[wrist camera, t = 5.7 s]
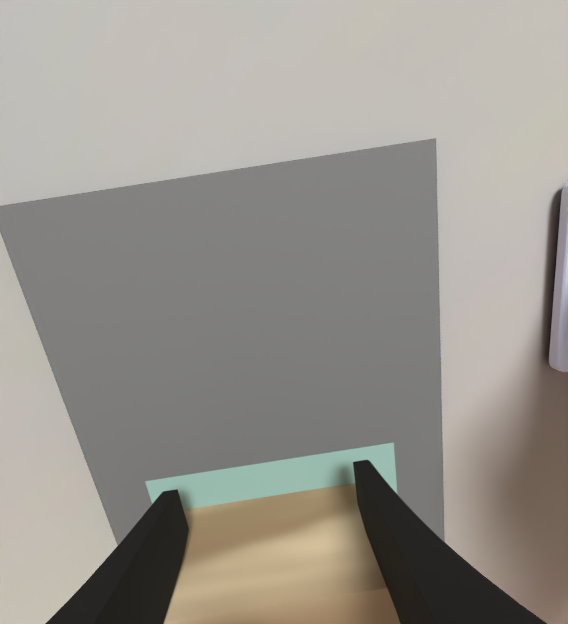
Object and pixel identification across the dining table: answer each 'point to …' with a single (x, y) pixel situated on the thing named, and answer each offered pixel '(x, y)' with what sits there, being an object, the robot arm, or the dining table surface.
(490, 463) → the dining table surface
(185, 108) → the dining table surface
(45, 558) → the dining table surface
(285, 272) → the mat
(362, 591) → the t block
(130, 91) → the dining table surface
